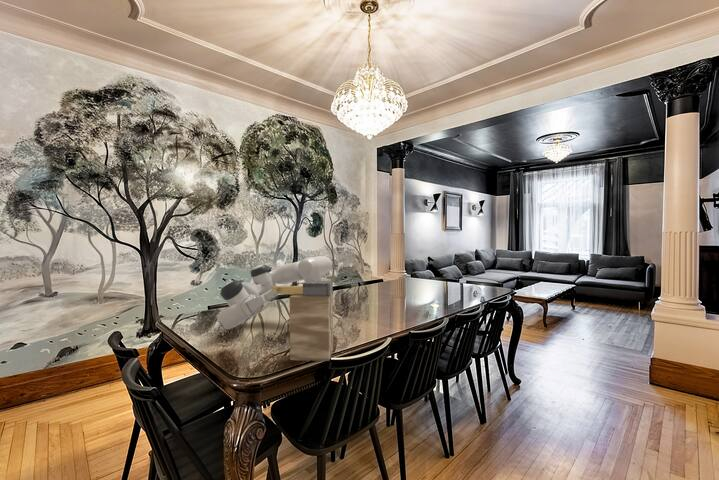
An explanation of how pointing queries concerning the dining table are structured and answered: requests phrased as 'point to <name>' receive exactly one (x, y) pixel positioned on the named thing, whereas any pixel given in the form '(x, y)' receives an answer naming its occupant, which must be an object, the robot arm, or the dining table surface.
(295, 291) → the bar
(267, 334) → the dining table surface
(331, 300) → the pedestal
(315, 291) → the socket
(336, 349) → the dining table surface
